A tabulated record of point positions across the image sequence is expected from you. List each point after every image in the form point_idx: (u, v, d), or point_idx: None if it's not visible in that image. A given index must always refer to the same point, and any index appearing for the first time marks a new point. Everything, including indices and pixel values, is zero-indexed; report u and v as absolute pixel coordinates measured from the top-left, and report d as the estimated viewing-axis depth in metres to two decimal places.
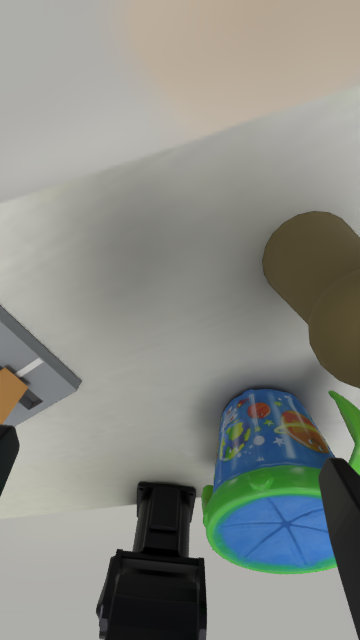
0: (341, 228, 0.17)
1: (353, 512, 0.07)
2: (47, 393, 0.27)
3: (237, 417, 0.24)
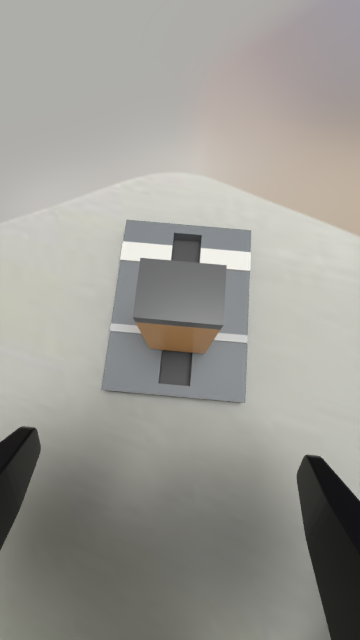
0: None
1: (326, 509, 0.07)
2: (207, 380, 0.19)
3: None
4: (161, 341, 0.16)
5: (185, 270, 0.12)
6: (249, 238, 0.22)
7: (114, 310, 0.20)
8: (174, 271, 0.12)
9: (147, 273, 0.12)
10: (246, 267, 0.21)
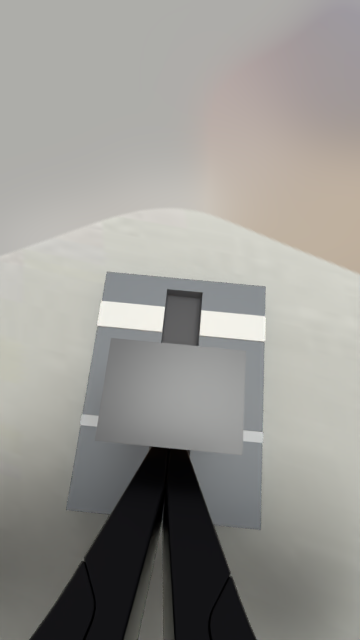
0: None
1: (165, 493, 0.07)
2: (208, 496, 0.14)
3: None
4: None
5: (181, 359, 0.08)
6: (263, 297, 0.17)
7: (87, 395, 0.16)
8: (164, 361, 0.08)
9: (121, 364, 0.08)
10: (260, 336, 0.16)
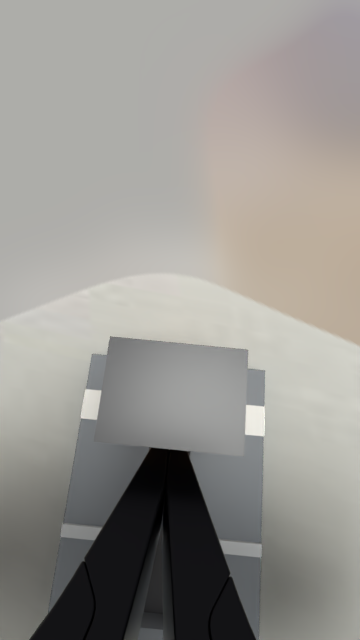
0: None
1: (165, 493, 0.07)
2: None
3: None
4: None
5: (182, 358, 0.08)
6: (262, 383, 0.16)
7: (69, 500, 0.14)
8: (164, 360, 0.08)
9: (120, 363, 0.08)
10: (259, 430, 0.15)
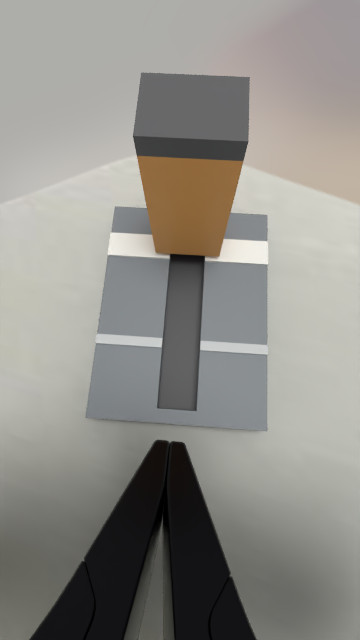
0: None
1: (165, 493, 0.07)
2: (217, 403, 0.15)
3: None
4: (169, 223, 0.14)
5: (198, 84, 0.10)
6: (265, 224, 0.18)
7: (101, 317, 0.17)
8: (184, 85, 0.10)
9: (150, 88, 0.10)
10: (263, 260, 0.17)
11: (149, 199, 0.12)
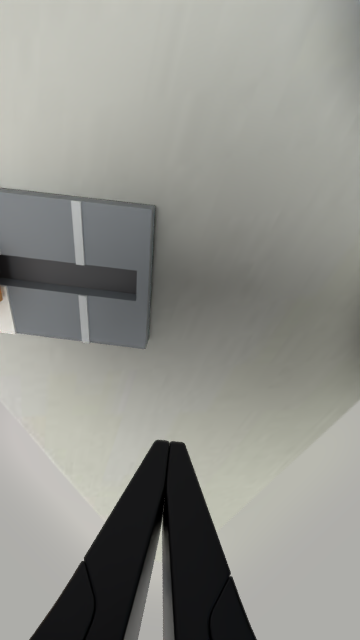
0: None
1: (165, 493, 0.07)
2: (129, 252, 0.17)
3: None
4: None
5: None
6: None
7: (69, 338, 0.21)
8: None
9: None
10: None
11: None
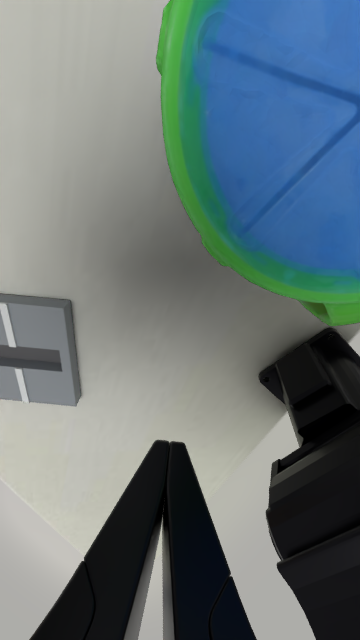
0: None
1: (165, 493, 0.07)
2: (51, 337, 0.22)
3: None
4: None
5: None
6: None
7: (12, 399, 0.25)
8: None
9: None
10: None
11: None
